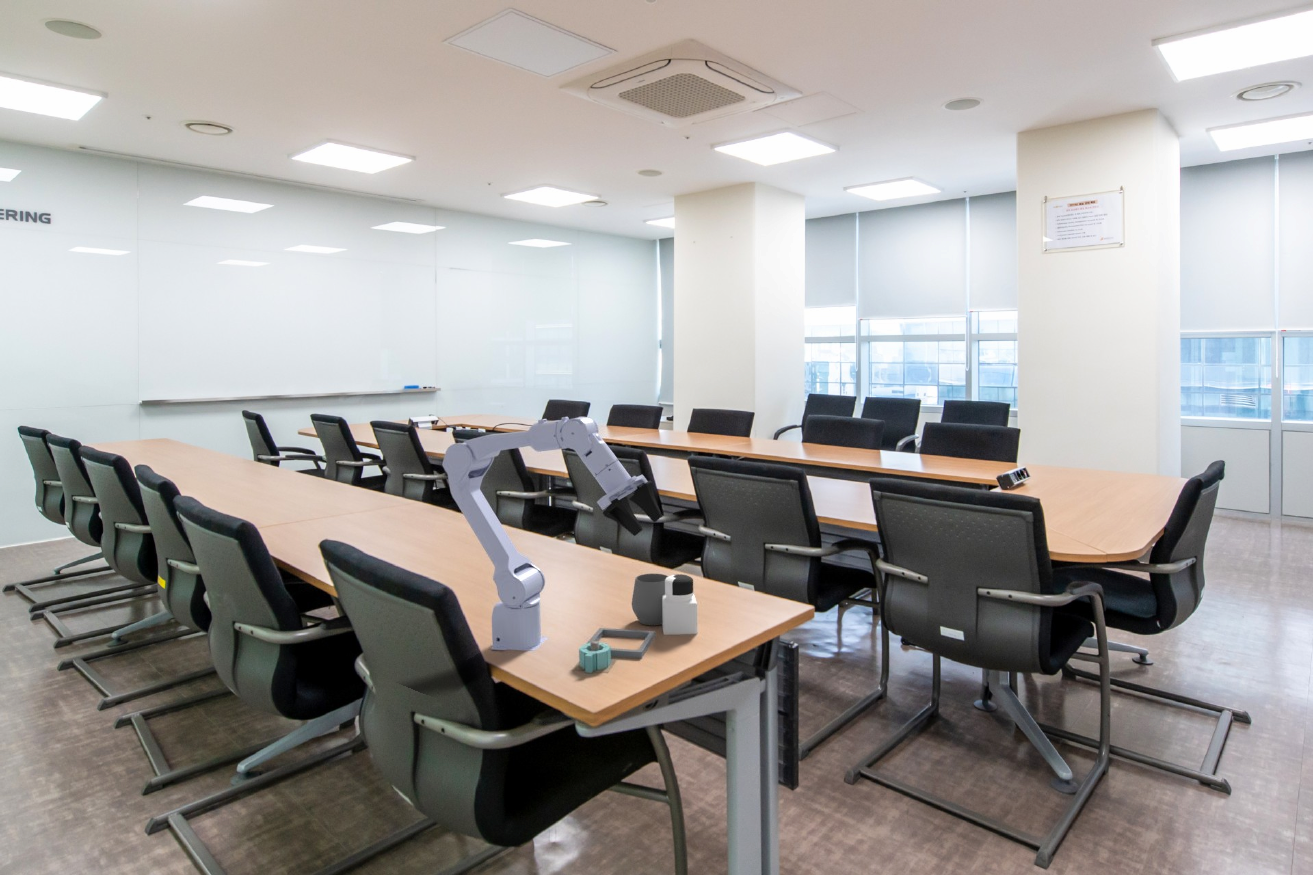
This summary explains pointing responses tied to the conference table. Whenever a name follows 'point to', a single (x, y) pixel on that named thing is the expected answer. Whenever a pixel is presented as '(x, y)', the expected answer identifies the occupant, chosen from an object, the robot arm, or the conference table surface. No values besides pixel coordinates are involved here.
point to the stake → (595, 648)
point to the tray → (626, 633)
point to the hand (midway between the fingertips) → (648, 526)
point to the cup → (649, 598)
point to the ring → (594, 657)
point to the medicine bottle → (679, 606)
